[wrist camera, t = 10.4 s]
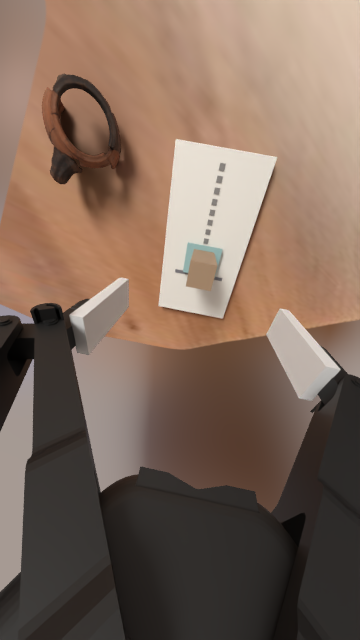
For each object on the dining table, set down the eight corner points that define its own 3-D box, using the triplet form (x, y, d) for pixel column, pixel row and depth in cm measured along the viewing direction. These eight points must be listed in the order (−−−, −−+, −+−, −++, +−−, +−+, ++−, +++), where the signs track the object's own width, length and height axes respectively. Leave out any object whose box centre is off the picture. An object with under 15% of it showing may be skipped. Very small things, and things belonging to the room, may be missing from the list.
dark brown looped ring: (61, 74, 24) (52, 27, 17) (126, 139, 29) (137, 121, 23) (32, 165, 27) (16, 154, 20) (96, 208, 32) (99, 210, 26)
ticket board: (273, 160, 25) (277, 156, 24) (222, 315, 39) (222, 318, 37) (177, 142, 25) (175, 138, 24) (160, 302, 39) (158, 306, 38)
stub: (222, 248, 30) (229, 261, 22) (214, 277, 33) (218, 297, 24) (187, 242, 30) (181, 252, 22) (183, 270, 33) (176, 289, 25)
